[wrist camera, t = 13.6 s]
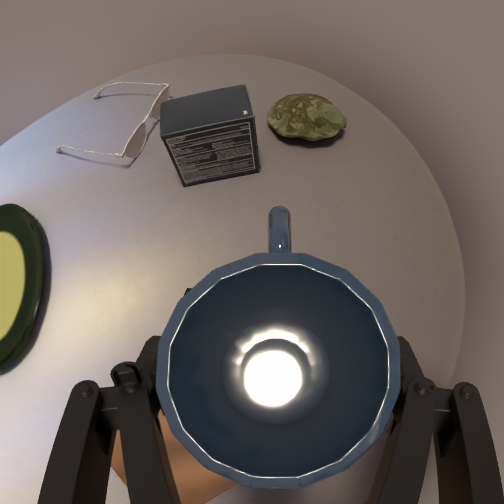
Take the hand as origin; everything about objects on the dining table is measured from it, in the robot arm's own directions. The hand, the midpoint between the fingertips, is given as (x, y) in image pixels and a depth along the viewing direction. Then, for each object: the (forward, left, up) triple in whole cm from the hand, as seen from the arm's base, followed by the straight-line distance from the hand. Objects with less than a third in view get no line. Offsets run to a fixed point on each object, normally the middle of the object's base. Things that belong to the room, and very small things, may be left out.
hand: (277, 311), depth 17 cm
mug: (-1, +1, -5) cm, 5 cm away
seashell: (+20, -24, -18) cm, 36 cm away
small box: (+23, -10, -18) cm, 31 cm away
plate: (+33, +30, -18) cm, 48 cm away
